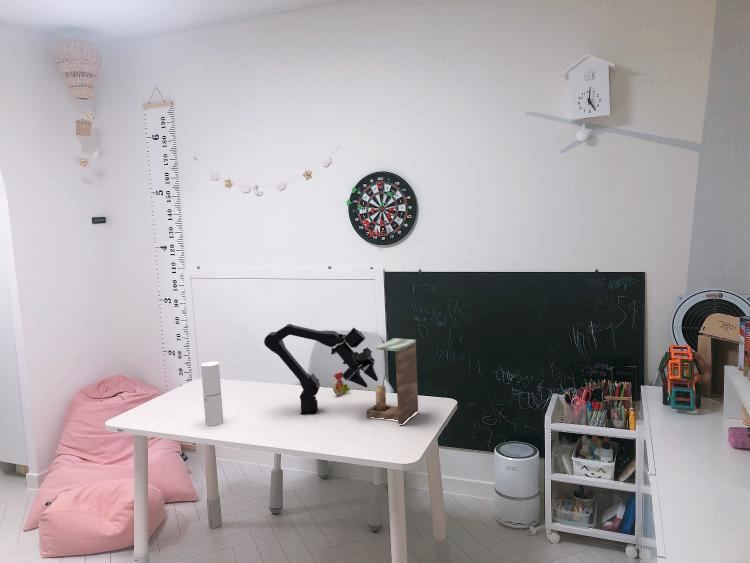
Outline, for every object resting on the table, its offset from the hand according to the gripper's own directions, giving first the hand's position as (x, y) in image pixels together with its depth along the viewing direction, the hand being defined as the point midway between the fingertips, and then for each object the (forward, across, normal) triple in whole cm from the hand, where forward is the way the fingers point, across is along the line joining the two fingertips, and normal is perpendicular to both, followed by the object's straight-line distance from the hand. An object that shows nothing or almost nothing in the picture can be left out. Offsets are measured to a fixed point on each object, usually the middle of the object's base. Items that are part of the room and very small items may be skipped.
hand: (372, 383), depth 249 cm
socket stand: (+15, 0, +4) cm, 15 cm away
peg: (+12, 0, +7) cm, 14 cm away
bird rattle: (-9, +18, +28) cm, 35 cm away
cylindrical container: (-31, -32, +50) cm, 67 cm away
